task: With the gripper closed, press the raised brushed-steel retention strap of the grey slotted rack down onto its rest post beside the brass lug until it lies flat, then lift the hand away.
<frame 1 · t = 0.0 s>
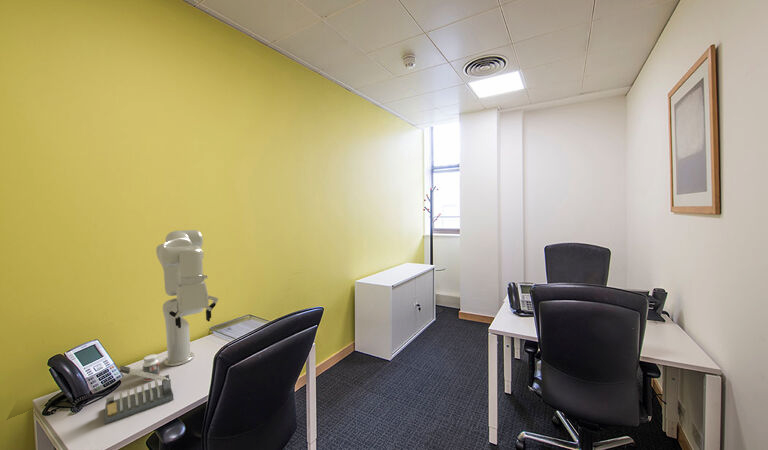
hand: (194, 323, 117), 31 cm above the table, fingers open, 9 cm apart
pill bottle: (151, 378, 136), on the table
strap: (145, 374, 118), point 11 cm above the table, hinge at 35.0°
grey slotted rack: (140, 403, 117), on the table
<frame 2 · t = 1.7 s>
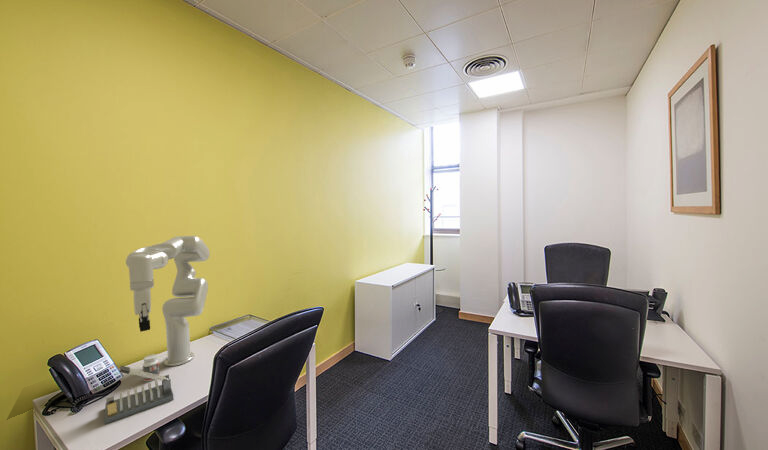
hand: (144, 328, 123), 27 cm above the table, fingers open, 4 cm apart
nothing on the table moved.
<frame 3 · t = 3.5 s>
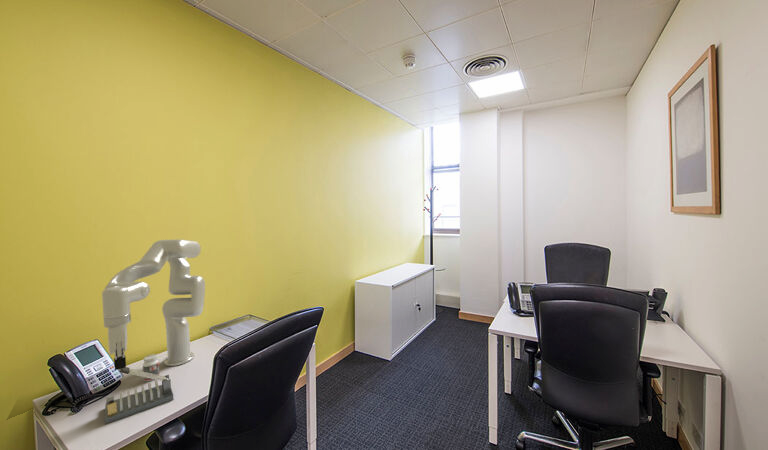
hand: (120, 367, 113), 16 cm above the table, fingers closed
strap: (145, 374, 118), point 11 cm above the table, hinge at 34.6°, touching gripper
everything else where it was.
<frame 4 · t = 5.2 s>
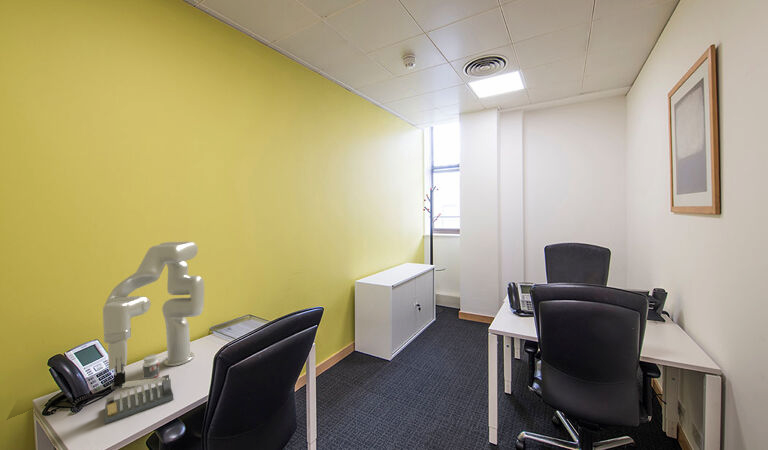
hand: (119, 383, 113), 11 cm above the table, fingers closed
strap: (141, 382, 117), point 8 cm above the table, hinge at 13.9°, touching gripper
everything else where it was.
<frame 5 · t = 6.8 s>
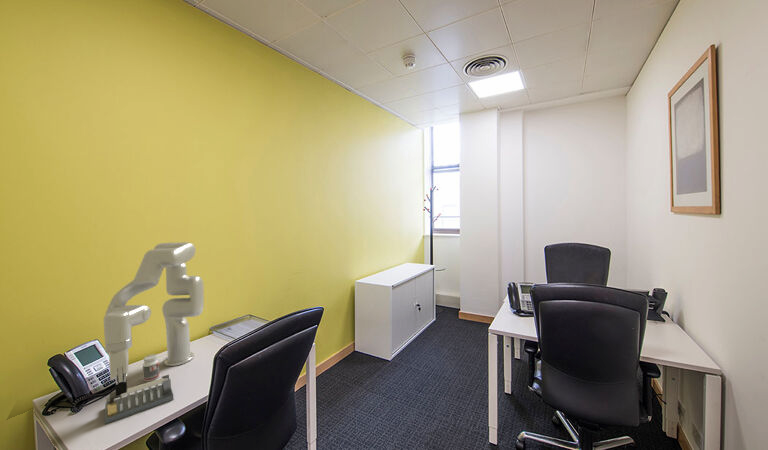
hand: (121, 392, 113), 7 cm above the table, fingers closed
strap: (140, 387, 117), point 7 cm above the table, hinge at 0.7°, touching gripper
everything else where it was.
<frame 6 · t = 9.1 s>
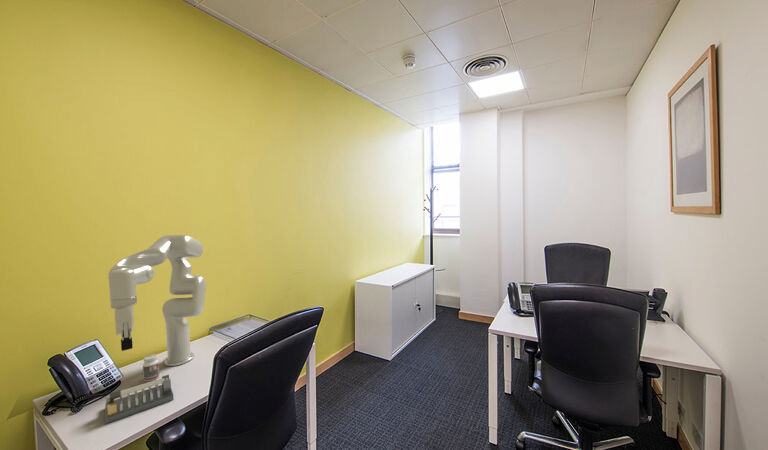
hand: (127, 348, 114), 23 cm above the table, fingers closed
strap: (140, 387, 117), point 6 cm above the table, hinge at 0.6°
everything else where it was.
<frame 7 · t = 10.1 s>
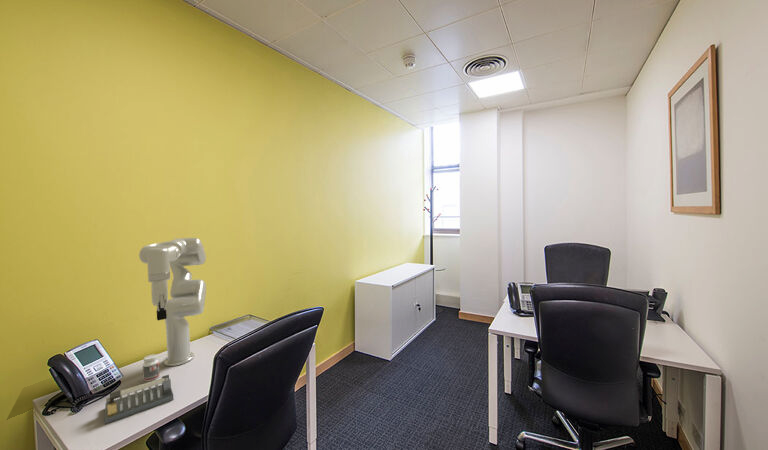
hand: (161, 319, 129), 29 cm above the table, fingers closed
nothing on the table moved.
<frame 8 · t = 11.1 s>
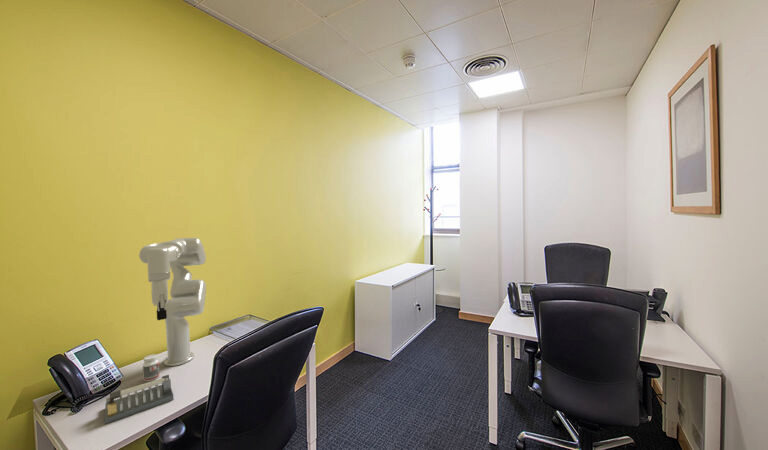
hand: (161, 319, 129), 29 cm above the table, fingers closed
nothing on the table moved.
at the end: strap at +1° (first picture: +35°); the gripper is holding nothing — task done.
